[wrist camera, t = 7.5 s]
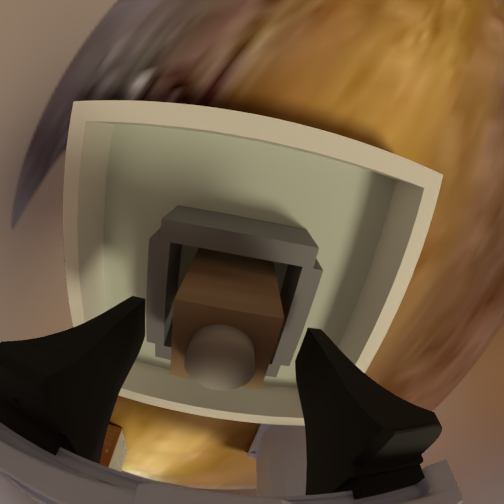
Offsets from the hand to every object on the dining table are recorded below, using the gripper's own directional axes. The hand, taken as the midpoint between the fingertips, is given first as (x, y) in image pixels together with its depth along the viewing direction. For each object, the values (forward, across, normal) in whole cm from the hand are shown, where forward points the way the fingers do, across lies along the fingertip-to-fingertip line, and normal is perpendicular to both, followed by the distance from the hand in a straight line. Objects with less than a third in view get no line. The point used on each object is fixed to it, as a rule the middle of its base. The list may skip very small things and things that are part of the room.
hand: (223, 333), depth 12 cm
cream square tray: (+6, 0, 0) cm, 6 cm away
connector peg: (+5, 0, 0) cm, 5 cm away
